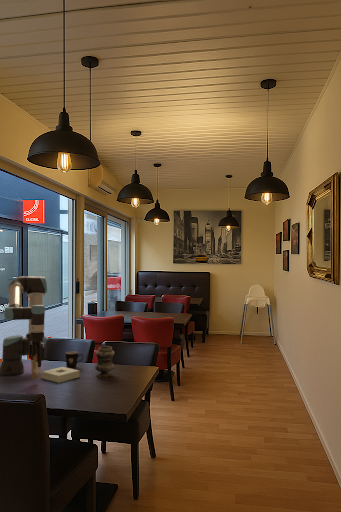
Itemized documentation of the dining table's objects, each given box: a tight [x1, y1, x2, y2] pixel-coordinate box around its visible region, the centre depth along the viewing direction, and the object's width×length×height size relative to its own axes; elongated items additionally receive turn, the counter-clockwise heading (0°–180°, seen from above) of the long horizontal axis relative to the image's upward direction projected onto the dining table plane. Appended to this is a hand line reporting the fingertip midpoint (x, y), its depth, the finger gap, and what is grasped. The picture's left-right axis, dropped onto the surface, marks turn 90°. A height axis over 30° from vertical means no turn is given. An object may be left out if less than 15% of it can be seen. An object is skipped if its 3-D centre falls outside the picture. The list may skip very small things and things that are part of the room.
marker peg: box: [31, 355, 40, 380], centre depth 217 cm, size 4×4×13 cm
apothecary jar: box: [94, 345, 115, 379], centre depth 238 cm, size 12×12×18 cm
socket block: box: [41, 366, 80, 384], centre depth 231 cm, size 16×16×4 cm
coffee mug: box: [65, 351, 85, 369], centre depth 257 cm, size 12×9×10 cm
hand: (35, 371), depth 217 cm, fingers closed on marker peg, 4 cm apart
